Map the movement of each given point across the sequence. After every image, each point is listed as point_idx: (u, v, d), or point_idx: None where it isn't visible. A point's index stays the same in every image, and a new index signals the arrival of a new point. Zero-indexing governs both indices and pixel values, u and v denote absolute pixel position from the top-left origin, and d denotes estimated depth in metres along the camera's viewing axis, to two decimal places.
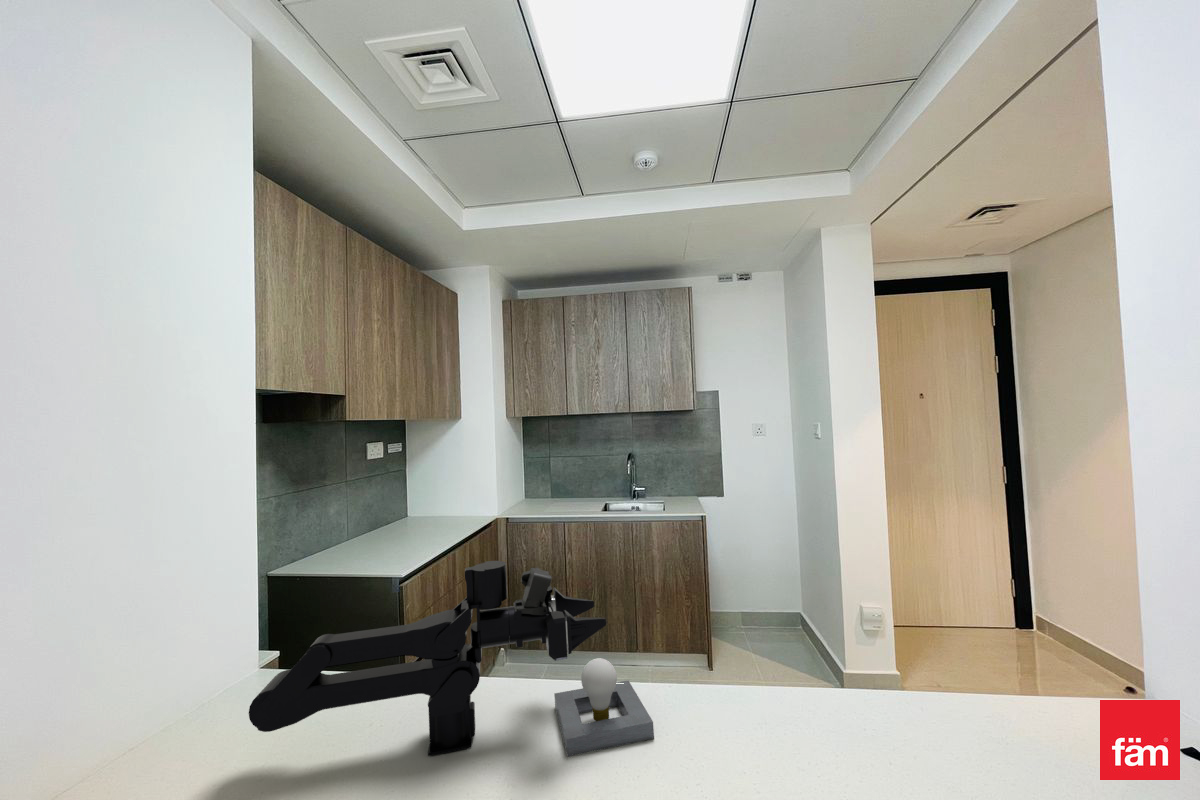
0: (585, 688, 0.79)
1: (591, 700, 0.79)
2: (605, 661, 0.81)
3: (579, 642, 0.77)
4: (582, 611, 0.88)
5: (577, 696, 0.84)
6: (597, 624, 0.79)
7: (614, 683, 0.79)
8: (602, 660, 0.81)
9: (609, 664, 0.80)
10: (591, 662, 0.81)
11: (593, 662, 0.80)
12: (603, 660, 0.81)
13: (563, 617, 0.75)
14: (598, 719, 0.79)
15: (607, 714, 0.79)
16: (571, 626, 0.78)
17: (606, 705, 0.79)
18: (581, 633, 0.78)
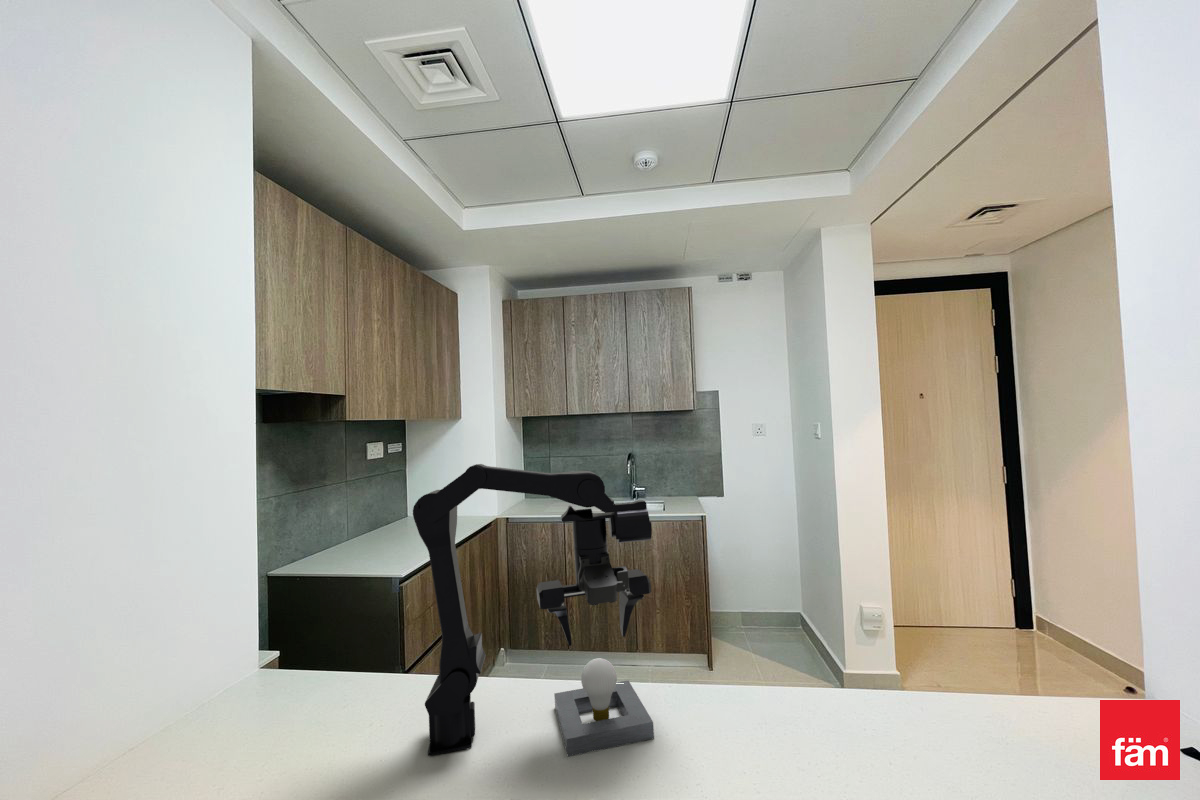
0: (585, 688, 0.79)
1: (591, 700, 0.79)
2: (605, 661, 0.81)
3: None
4: (620, 620, 0.83)
5: (577, 696, 0.84)
6: None
7: (614, 683, 0.79)
8: (602, 660, 0.81)
9: (609, 664, 0.80)
10: (591, 662, 0.81)
11: (593, 662, 0.80)
12: (603, 660, 0.81)
13: (545, 607, 0.77)
14: (598, 719, 0.79)
15: (607, 714, 0.79)
16: None
17: (606, 705, 0.79)
18: None
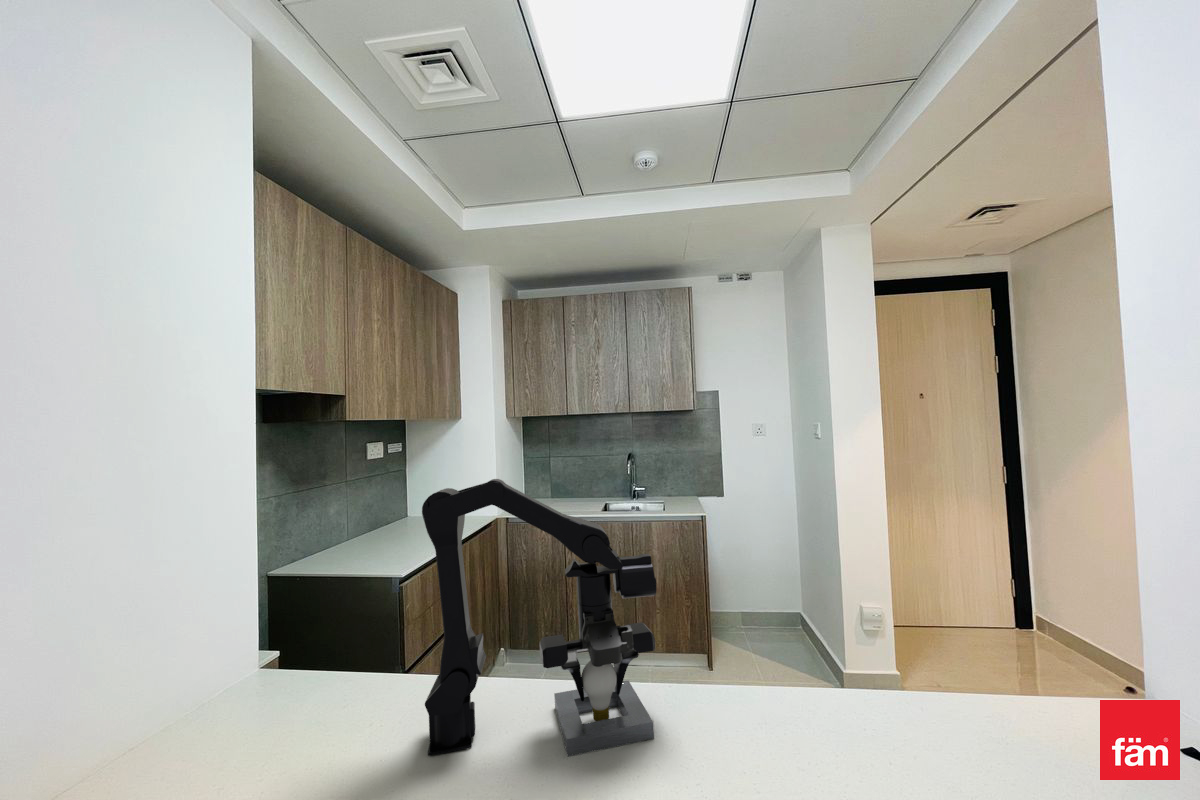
0: (585, 688, 0.79)
1: (591, 700, 0.79)
2: None
3: None
4: None
5: (577, 696, 0.84)
6: (578, 691, 0.80)
7: (614, 683, 0.79)
8: None
9: (609, 664, 0.80)
10: None
11: None
12: None
13: (548, 666, 0.76)
14: (598, 719, 0.79)
15: (607, 714, 0.79)
16: None
17: (606, 705, 0.79)
18: None
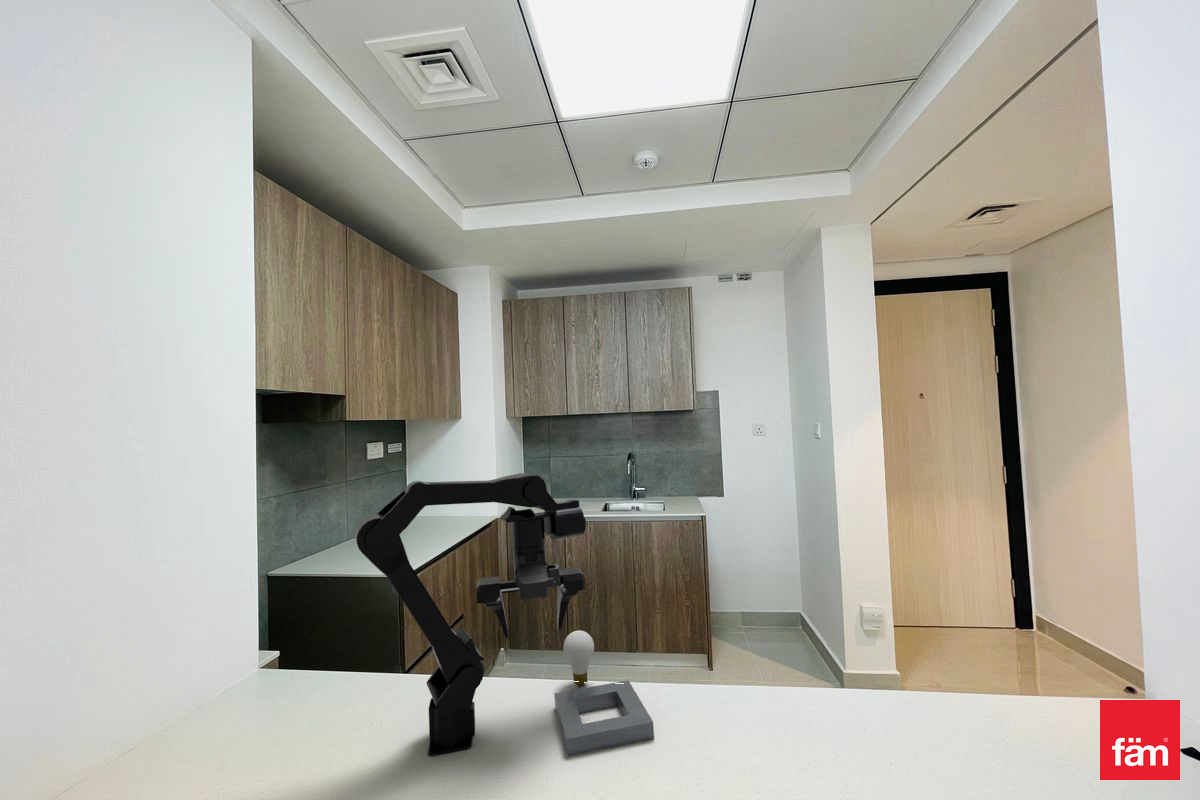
0: (566, 655, 0.91)
1: (572, 666, 0.92)
2: (584, 632, 0.93)
3: None
4: (557, 615, 0.88)
5: (577, 696, 0.84)
6: None
7: (591, 651, 0.91)
8: (581, 632, 0.93)
9: (587, 635, 0.93)
10: (572, 633, 0.93)
11: (574, 633, 0.93)
12: (582, 632, 0.93)
13: (481, 602, 0.81)
14: (578, 682, 0.91)
15: (585, 678, 0.92)
16: None
17: (584, 670, 0.91)
18: None
